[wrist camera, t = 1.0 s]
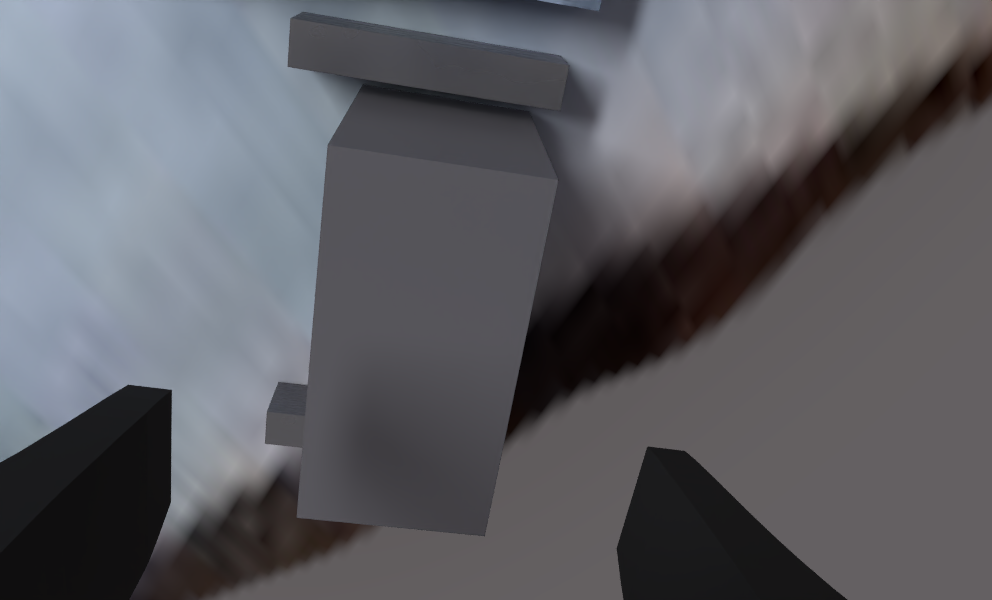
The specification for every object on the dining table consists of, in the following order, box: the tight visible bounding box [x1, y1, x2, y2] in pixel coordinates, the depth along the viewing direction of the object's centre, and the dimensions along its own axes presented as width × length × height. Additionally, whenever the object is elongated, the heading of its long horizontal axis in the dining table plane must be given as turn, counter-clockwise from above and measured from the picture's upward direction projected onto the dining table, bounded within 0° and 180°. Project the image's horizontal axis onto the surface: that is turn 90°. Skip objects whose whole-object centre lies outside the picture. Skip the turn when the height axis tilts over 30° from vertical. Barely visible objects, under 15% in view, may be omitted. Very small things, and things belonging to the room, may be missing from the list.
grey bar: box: [297, 84, 558, 536], centre depth 18 cm, size 4×8×6 cm, turn 170°
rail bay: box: [265, 12, 569, 448], centre depth 20 cm, size 6×11×2 cm, turn 170°
